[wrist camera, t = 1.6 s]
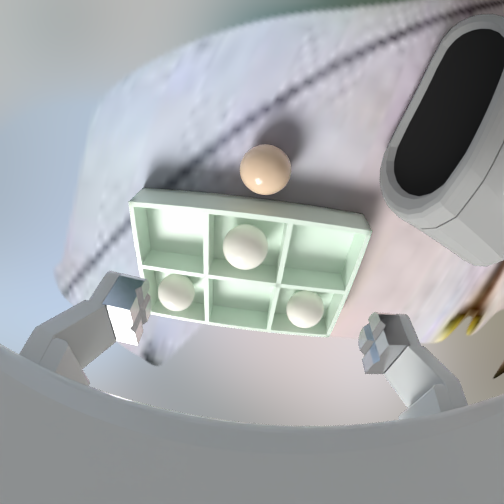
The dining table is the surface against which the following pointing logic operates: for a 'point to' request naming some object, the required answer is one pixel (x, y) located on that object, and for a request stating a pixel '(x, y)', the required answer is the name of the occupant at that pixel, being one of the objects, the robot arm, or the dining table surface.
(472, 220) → the alarm clock
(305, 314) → the cream egg
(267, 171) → the brown egg
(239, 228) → the cream egg
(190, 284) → the cream egg
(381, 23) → the dining table surface
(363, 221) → the egg tray
